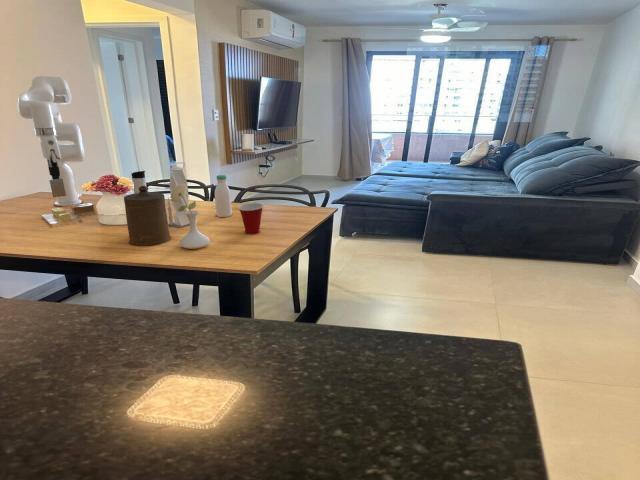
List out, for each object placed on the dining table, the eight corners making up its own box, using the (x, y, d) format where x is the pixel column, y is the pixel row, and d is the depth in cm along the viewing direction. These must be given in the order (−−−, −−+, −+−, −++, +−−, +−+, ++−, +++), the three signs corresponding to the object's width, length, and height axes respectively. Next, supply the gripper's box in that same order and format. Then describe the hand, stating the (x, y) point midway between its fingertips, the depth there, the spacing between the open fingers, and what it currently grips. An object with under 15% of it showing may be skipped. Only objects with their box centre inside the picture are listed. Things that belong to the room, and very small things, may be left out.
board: (41, 218, 181) (41, 215, 181) (70, 213, 189) (70, 210, 189) (51, 227, 168) (50, 224, 168) (82, 222, 176) (81, 219, 176)
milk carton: (183, 221, 180) (177, 161, 171) (195, 223, 177) (189, 162, 167) (168, 225, 174) (161, 163, 164) (180, 228, 170) (173, 164, 161)
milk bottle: (233, 216, 189) (230, 176, 182) (217, 218, 186) (214, 177, 180) (230, 212, 196) (228, 174, 189) (215, 214, 193) (212, 174, 186)
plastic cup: (237, 229, 169) (235, 203, 165) (261, 227, 173) (260, 201, 169) (241, 237, 160) (240, 209, 156) (267, 234, 163) (266, 207, 159)
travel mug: (146, 210, 197) (141, 172, 191) (134, 210, 197) (128, 171, 191) (152, 207, 203) (147, 170, 196) (139, 207, 203) (134, 169, 197)
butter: (52, 214, 181) (51, 208, 180) (62, 213, 184) (61, 207, 183) (56, 217, 177) (55, 211, 176) (66, 216, 179) (65, 210, 178)
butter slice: (59, 220, 173) (58, 214, 172) (69, 219, 175) (68, 212, 174) (60, 221, 171) (59, 215, 170) (71, 220, 174) (69, 213, 173)
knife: (53, 197, 169) (46, 163, 164) (52, 197, 170) (45, 163, 165) (66, 196, 172) (59, 162, 167) (65, 195, 173) (58, 162, 168)
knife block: (72, 215, 186) (70, 205, 184) (92, 212, 192) (90, 203, 190) (75, 217, 183) (73, 207, 181) (95, 214, 189) (93, 204, 187)
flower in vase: (200, 239, 156) (194, 178, 147) (216, 246, 149) (211, 182, 140) (170, 247, 146) (162, 183, 138) (185, 255, 139) (178, 187, 131)
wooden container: (161, 232, 164) (155, 181, 157) (175, 240, 154) (169, 186, 147) (125, 238, 155) (116, 185, 148) (136, 248, 144) (128, 191, 137)
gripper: (61, 133, 159) (69, 177, 165) (52, 130, 169) (60, 172, 175) (39, 133, 154) (49, 179, 160) (31, 131, 164) (41, 174, 170)
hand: (55, 175), depth 168 cm, fingers closed on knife, 1 cm apart
